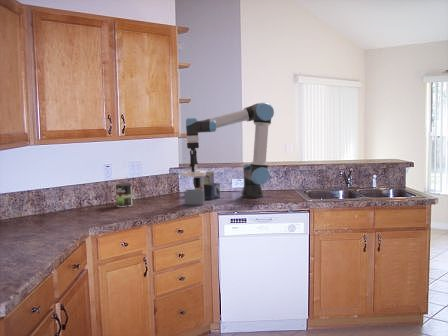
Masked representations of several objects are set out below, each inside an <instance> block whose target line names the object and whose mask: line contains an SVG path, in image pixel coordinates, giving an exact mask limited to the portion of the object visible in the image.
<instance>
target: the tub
mask: <svg viewBox="0 0 448 336" xmlns="http://www.w3.org/2000/svg"><path fill="white" fill-rule="evenodd" d="M205 202H206V201H205V199H204V189H195V188H194V189H185V190H184V206H204V205H205Z"/></svg>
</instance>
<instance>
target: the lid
mask: <svg viewBox="0 0 448 336" xmlns="http://www.w3.org/2000/svg"><path fill="white" fill-rule="evenodd" d="M206 171H207V170H202V171H201V169H197V170H195V174H196V176H205V174H206ZM183 177H184V178H185V177H187V178H189V177H191V170H187V171H186V170H185V171H183V172H182V178H183Z"/></svg>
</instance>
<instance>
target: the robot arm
mask: <svg viewBox="0 0 448 336" xmlns="http://www.w3.org/2000/svg"><path fill="white" fill-rule="evenodd" d="M274 114H275V110H274V108H273V106H272V104H270V103H267V102H258V103H255V104H252V105H250V106H247V107H243V109H240V110H238V111H233V112H230V113H225V114H222V115H219V116H213V117H211V118H207V119H203V120H198V118H197V117H193V118H192V117H191V118H190V117H188V118H186V120H185V130H186V137H185V139H186V142H187V143H186V149H188V150H189V149H190V151H189V154H190V155H189V156H190V158H189V159H190V160H189V161H190V162H189V163H190V165H189V168H190V171H191V176H190V177H191V178H194V177H196V174H195V170H198V165H199V162H198V159H197V157H198V156H197V153H198V152H197V149H199V148H200V145H199V143H200V142H199V133H200V134H201V133H215V132H216V131H217V129H218V128H222V127H226V126H230V125H234V124H238V123H243V122H253V124H254V125H255V126H254V143H253V159H252V161H251V163H245V164H243V188H242V192H241V197H242V198H247V199H249V198H250V199H252V198H253V199H257V198H258V199H259V198H262V197H264V192H263V189H262V186H261V185H264V184H266V183H267V182H268V181H269V180H270V171H269V170H268V169H269V164H268V163H267V152H268V151H267V148H268V136H269V135H268V134H269V126H270V125H271V124H272V118H273V117H274V116H275V115H274Z"/></svg>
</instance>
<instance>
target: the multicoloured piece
mask: <svg viewBox="0 0 448 336" xmlns="http://www.w3.org/2000/svg"><path fill="white" fill-rule="evenodd" d="M132 185H133V184H132V183H117V184H115V196H116V198H115V200H116V207H118V208H128V207H127V206H129V207H133V191H132V190H133V189H132V187H133V186H132Z"/></svg>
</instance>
